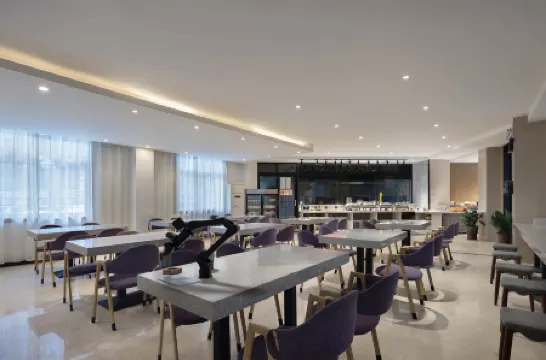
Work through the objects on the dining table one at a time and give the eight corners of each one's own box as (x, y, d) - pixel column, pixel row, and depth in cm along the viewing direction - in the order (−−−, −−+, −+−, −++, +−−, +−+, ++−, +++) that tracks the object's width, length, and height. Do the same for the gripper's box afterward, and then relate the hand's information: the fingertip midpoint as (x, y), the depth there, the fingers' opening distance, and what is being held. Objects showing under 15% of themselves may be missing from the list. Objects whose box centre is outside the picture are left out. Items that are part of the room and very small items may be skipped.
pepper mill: (171, 265, 191) (172, 244, 192) (170, 266, 187) (170, 245, 188) (164, 265, 191) (164, 244, 191) (162, 266, 186) (163, 245, 187)
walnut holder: (181, 271, 200) (182, 267, 200) (175, 274, 192) (175, 270, 192) (169, 270, 201) (170, 267, 202) (162, 273, 193) (163, 269, 193)
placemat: (200, 281, 174) (200, 281, 174) (180, 286, 165) (180, 285, 165) (176, 275, 190) (177, 274, 190) (157, 278, 181) (157, 278, 181)
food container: (211, 271, 201) (211, 255, 202) (202, 270, 202) (202, 255, 203) (218, 267, 213) (218, 252, 214) (209, 266, 214) (209, 252, 215)
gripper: (180, 225, 199) (163, 243, 200) (166, 228, 181) (148, 247, 181) (192, 238, 197) (175, 255, 198) (179, 242, 179) (161, 261, 180)
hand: (165, 254), depth 189 cm, fingers closed on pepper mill, 4 cm apart
